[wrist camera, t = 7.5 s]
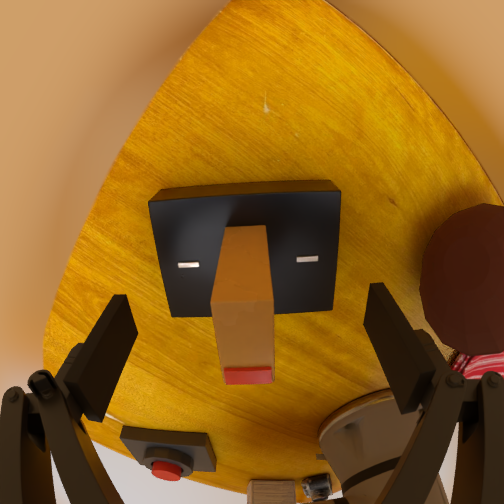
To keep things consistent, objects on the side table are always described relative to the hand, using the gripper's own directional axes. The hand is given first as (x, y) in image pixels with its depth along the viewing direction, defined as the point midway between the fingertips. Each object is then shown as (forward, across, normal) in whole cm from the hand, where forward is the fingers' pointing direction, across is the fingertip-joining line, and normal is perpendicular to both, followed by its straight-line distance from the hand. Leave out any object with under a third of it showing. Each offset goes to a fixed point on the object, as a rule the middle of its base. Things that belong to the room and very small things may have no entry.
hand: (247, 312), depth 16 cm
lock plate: (+8, 0, 0) cm, 8 cm away
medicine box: (+9, +1, -46) cm, 47 cm away
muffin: (+4, +22, -4) cm, 23 cm away
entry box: (+8, -13, -30) cm, 34 cm away
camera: (+9, +10, -48) cm, 50 cm away
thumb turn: (+5, 0, 0) cm, 5 cm away
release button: (+5, -13, -31) cm, 34 cm away
